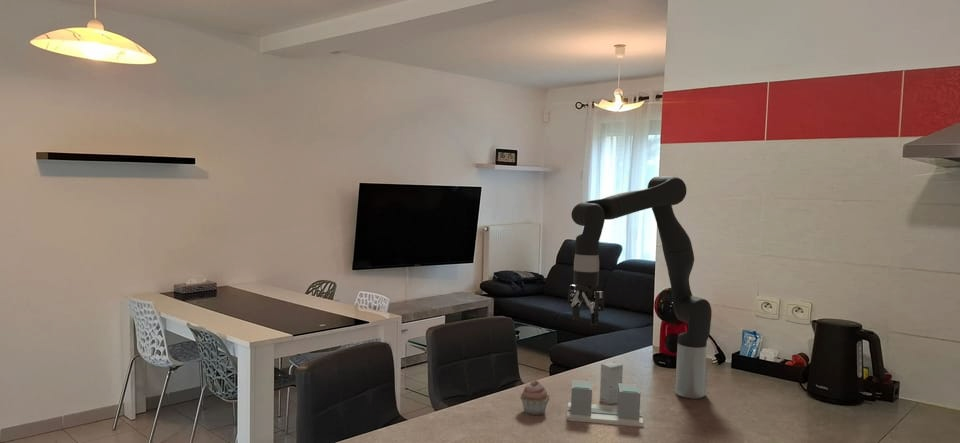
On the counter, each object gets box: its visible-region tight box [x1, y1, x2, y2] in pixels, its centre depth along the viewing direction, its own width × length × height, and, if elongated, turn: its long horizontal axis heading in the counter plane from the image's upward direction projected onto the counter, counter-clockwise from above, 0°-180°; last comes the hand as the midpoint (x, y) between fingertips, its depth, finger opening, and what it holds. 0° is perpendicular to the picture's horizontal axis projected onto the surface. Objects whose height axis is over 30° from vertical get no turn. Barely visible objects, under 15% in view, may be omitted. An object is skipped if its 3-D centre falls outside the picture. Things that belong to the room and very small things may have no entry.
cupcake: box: [519, 379, 551, 416], centre depth 191 cm, size 9×9×10 cm
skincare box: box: [599, 361, 624, 405], centre depth 202 cm, size 6×4×12 cm
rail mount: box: [566, 379, 644, 428], centre depth 189 cm, size 22×12×9 cm, turn 81°
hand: (584, 321), depth 190 cm, fingers open, 8 cm apart
